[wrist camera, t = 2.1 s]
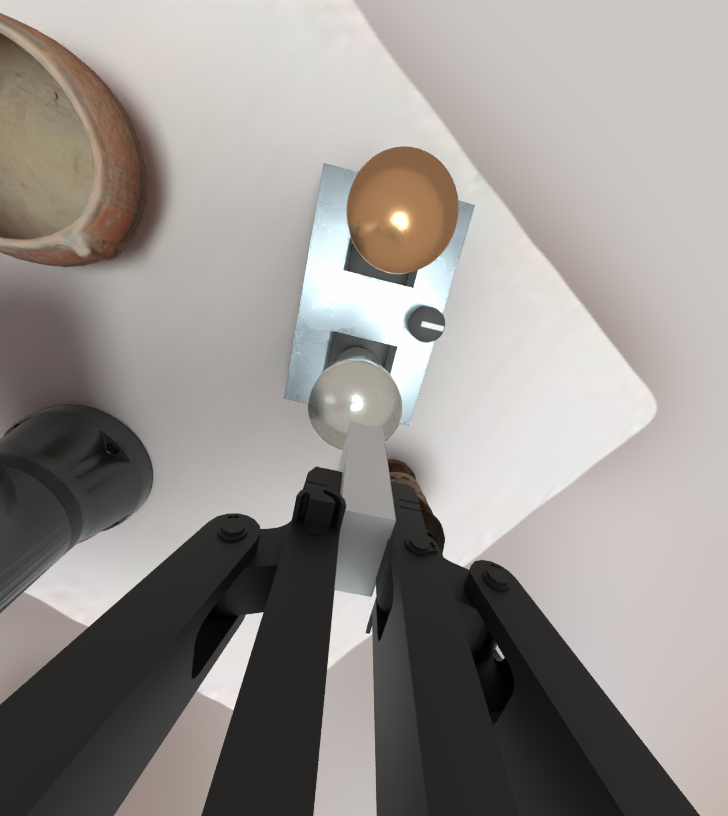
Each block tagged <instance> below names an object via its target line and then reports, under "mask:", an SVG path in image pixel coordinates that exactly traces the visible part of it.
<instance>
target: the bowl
mask: <svg viewBox="0 0 728 816" xmlns="http://www.w3.org/2000/svg"><path fill="white" fill-rule="evenodd" d="M147 183H148V176H147V173H146V168H145V164H144V160H143V154H142V150H141V148H140V145H139V141H138V138H137V136H136V133H135V130H134V128H133V125H132V122H131V120H130V118H129V117H128V115H127V113H126V112H125V110H124V109H123V107H122V105H121V104H120V102H119V101H118V100H117V98H116V97H115V96H114V94H113V93H112V92H111V90H110V89H109V88H108V86H107V85H106V84H105V83H104V82H103V81H102V80H101V79H100V78H99V77H98V75H97V74H96V73H95V72H94V71H93V70H91V69H90V68H89V67H88V66H87V65H86V64H85V63H84V62H82V61H81V60H80V59H79V58H78V57H76V56H75V55H74V54H73V53H71V52H70V51H69V50H68V49H66V48H65V47H63V46H62V45H60V44H59V43H58V42H56V41H55V40H53V39H51V38H50V37H48V36H46V35H44V34H43V33H41V32H39V31H38V30H36V29H34V28H32V27H30V26H28V25H26V24H24V23H21V22H19V21H17V20H15V19H13V18H10V17H8V16H6V15H3V14H1V13H0V252H1V253H4V254H6V255H9V256H12V257H15V258H17V259H21V260H25V261H29V262H34V263H38V264H44V265H51V266H63V267H69V266H84V265H88V264H92V263H96V262H100V261H102V260H111V259H114V258H116V257H118V255H119V254H120V252H121V251H122V250H123V249H124V247H125V246H126V245H127V244H128V242H129V241H130V240H131V239H132V238H133V236H134V235H135V233H136V232H137V230H138V228H139V225H140V223H141V220H142V217H143V213H144V209H145V205H146V202H147Z"/></svg>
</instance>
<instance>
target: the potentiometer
mask: <svg viewBox="0 0 728 816" xmlns="http://www.w3.org/2000/svg"><path fill="white" fill-rule="evenodd" d="M406 327H407V330H408V332H409V333H410V334H411V335H412V336H413V337H414V338H415V339H417V340H418V341H420V342H424V343H429V342H433V341H435V340H437V339H438V338H439V337H440V336H441V335H442V333H443V331H444V328H445V319H444V316H443V314H442V313H441V312H440V311H439V310H438V309H436V308H434V307H430V306H425V305H421V306H417V307H415V308H413V309H412V310H411V311H410V312H409V314H408V316H407V318H406Z"/></svg>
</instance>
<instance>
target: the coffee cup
mask: <svg viewBox="0 0 728 816" xmlns="http://www.w3.org/2000/svg"><path fill="white" fill-rule="evenodd" d="M387 461H388V468H389V475H390V481H392V482H397V483H402V484H407V485H410V486H411V488H412V489H413V490H414V491H415V492H416V494H417V497H418V501H419V505H420V508H421V512H422V516H423V520H424V523H425V527H426V531H427V535H428V536H429V537H431V538H432V539H433V540H434V541H435V542H436V543H437V544H438V546H439V547H440V549H441V551H442V553H443V549H444V543H445V537H444V532H443V528H442V525H441V523H440V521H439V520H438V519H437V518H436V517H435V516H434V515H433V513H432V510H431V509H430V507H429V505H428V503H427V500H426V498H425V496H424V495H423V493H422V491H421V489H420V486H419V485H418V483H417V481H416V478H415V475H414V473H413V472H412V470H411V469H410V468H409V467H408V466H407V465H406V464H404V463H402V462H399V461H395V460H387Z"/></svg>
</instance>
